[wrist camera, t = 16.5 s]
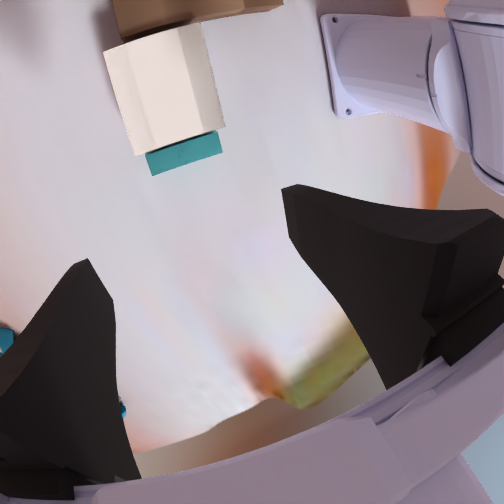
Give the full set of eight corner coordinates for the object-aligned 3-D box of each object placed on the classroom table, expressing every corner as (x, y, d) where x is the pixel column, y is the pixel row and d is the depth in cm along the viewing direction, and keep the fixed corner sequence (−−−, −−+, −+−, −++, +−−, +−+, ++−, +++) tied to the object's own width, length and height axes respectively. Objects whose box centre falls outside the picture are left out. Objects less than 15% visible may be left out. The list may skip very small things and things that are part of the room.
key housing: (191, 31, 15) (200, 22, 12) (213, 118, 18) (225, 126, 16) (110, 56, 14) (103, 51, 11) (137, 143, 17) (135, 156, 15)
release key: (184, 35, 14) (191, 27, 12) (212, 141, 19) (222, 152, 16) (118, 55, 14) (113, 51, 11) (151, 161, 18) (152, 176, 16)
